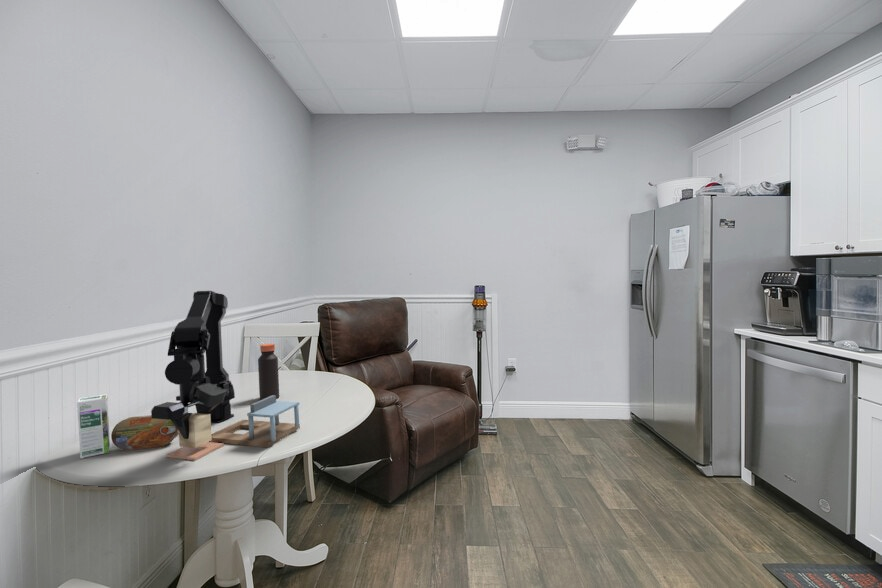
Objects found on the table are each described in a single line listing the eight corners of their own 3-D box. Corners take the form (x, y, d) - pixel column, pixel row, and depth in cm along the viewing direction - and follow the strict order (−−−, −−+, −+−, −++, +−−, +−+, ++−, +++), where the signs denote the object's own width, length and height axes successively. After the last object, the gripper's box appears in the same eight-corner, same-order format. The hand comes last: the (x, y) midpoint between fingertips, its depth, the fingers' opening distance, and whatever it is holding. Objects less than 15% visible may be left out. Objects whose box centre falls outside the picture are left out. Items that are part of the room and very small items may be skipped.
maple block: (179, 446, 103) (178, 419, 103) (196, 438, 108) (194, 412, 108) (195, 448, 102) (194, 420, 101) (211, 440, 107) (210, 414, 106)
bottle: (269, 394, 156) (267, 342, 155) (283, 396, 153) (281, 343, 153) (255, 399, 150) (253, 345, 149) (269, 401, 147) (267, 346, 146)
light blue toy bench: (248, 438, 109) (246, 406, 109) (276, 423, 120) (275, 394, 120) (273, 441, 107) (272, 407, 107) (300, 425, 118) (298, 395, 118)
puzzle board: (205, 441, 111) (205, 436, 111) (242, 423, 125) (242, 419, 125) (267, 447, 106) (267, 442, 106) (299, 428, 120) (299, 424, 120)
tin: (111, 453, 105) (109, 420, 105) (117, 448, 108) (115, 416, 108) (177, 444, 110) (176, 413, 109) (181, 440, 113) (180, 410, 112)
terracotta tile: (166, 457, 102) (166, 454, 102) (196, 443, 110) (196, 440, 110) (195, 460, 99) (195, 458, 99) (223, 445, 108) (223, 443, 108)
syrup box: (79, 459, 102) (76, 401, 101) (82, 451, 107) (79, 396, 106) (109, 453, 105) (106, 397, 105) (110, 445, 110) (107, 392, 109)
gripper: (185, 385, 93) (189, 452, 94) (245, 367, 111) (247, 424, 112) (147, 383, 96) (151, 448, 97) (211, 366, 114) (214, 421, 115)
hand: (195, 434), depth 105 cm, fingers closed on maple block, 5 cm apart
